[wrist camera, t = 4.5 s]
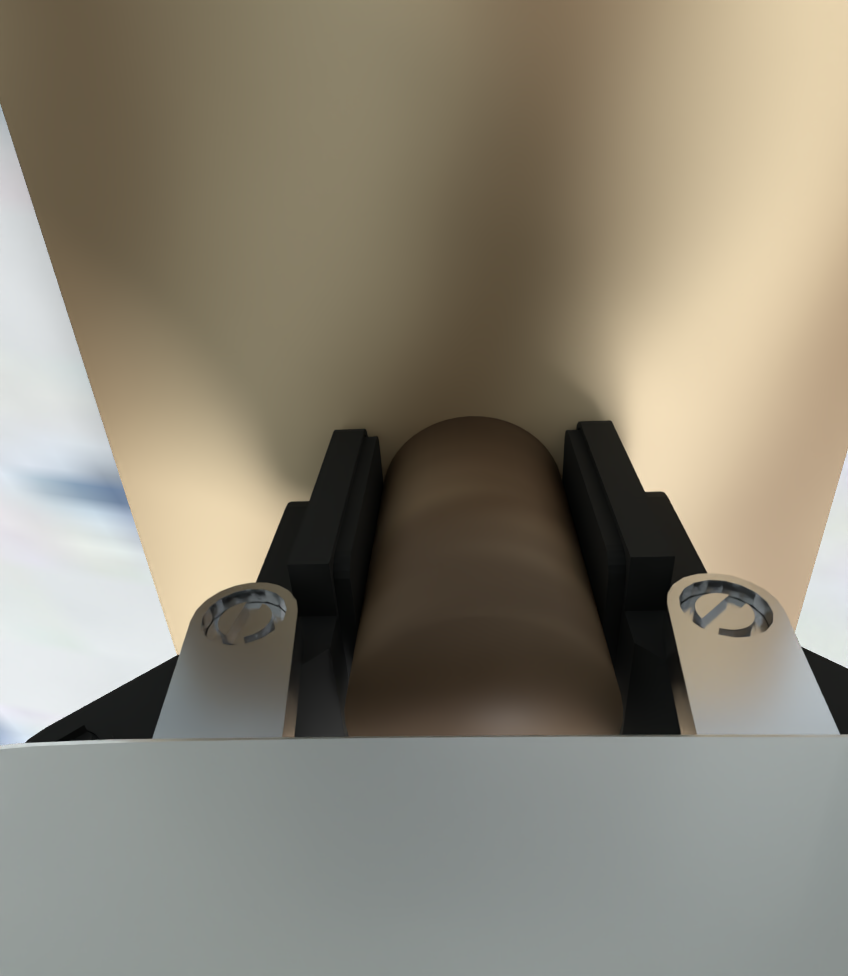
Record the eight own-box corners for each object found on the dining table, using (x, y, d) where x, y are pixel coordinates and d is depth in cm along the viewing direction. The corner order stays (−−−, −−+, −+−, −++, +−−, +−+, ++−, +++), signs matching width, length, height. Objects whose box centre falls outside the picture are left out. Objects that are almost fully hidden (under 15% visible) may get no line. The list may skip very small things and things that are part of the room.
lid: (963, -127, 9) (1754, -457, 3) (732, 756, 17) (856, 1053, 12) (-7, -51, 9) (-585, -223, 4) (233, 759, 18) (141, 1038, 12)
